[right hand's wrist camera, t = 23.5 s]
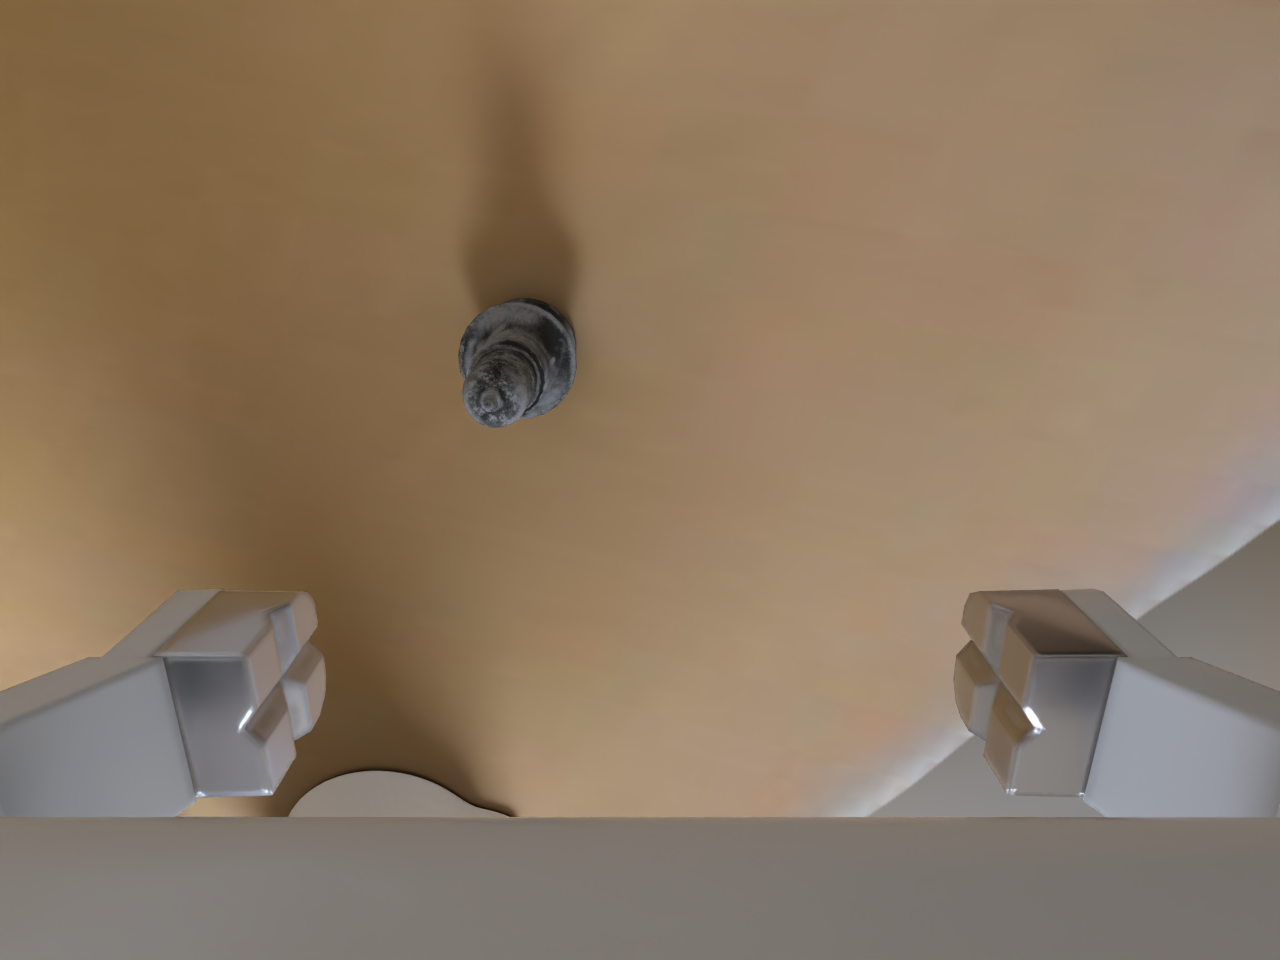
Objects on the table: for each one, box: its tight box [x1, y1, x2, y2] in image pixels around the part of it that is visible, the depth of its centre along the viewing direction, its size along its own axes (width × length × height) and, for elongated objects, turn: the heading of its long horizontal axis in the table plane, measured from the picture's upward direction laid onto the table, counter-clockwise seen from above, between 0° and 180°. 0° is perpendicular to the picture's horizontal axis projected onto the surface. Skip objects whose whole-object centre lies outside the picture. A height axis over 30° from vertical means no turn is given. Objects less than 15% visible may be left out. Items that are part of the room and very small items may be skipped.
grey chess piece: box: [458, 299, 577, 428], centre depth 38 cm, size 6×6×12 cm
